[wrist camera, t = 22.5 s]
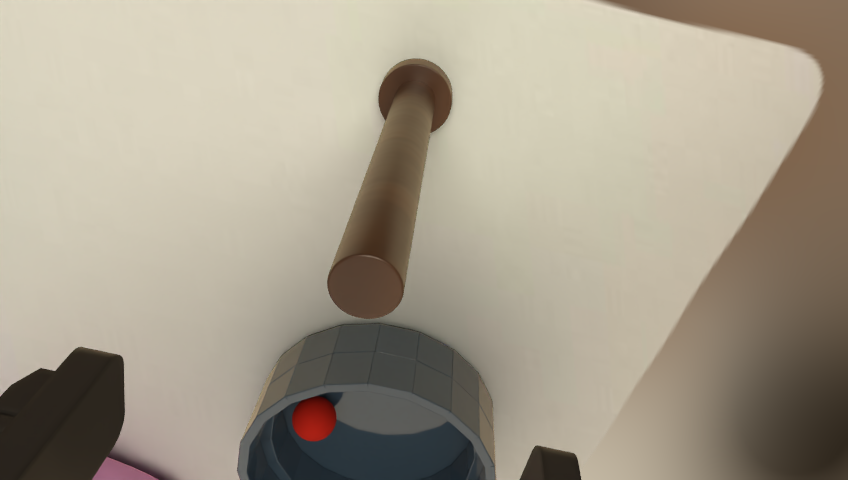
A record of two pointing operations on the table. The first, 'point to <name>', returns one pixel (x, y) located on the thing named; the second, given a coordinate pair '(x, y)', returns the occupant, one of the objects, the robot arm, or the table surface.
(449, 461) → the bowl
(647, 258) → the table surface
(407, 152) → the brown wooden pestle
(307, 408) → the cherry tomato
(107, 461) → the teapot
